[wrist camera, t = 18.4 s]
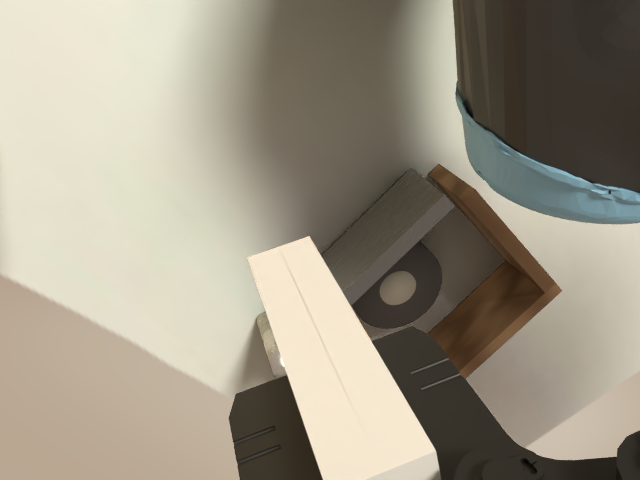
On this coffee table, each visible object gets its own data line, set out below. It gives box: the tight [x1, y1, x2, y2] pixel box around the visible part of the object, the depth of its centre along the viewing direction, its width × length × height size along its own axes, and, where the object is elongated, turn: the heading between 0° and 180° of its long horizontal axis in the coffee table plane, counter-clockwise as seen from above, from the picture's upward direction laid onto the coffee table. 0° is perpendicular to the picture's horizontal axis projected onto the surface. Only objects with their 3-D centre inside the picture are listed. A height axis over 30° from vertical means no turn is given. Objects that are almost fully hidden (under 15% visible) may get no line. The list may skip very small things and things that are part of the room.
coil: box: [352, 241, 442, 328], centre depth 49 cm, size 8×8×4 cm
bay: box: [427, 164, 562, 379], centre depth 49 cm, size 19×14×6 cm
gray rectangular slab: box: [257, 168, 455, 379], centre depth 45 cm, size 18×2×7 cm, turn 134°
